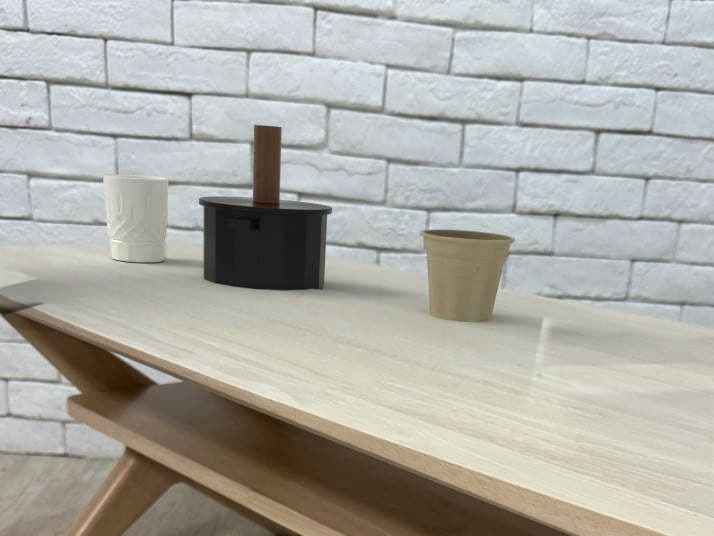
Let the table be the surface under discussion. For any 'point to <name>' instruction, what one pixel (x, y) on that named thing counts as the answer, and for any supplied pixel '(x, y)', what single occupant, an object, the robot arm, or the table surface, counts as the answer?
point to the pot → (264, 249)
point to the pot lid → (266, 182)
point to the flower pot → (464, 272)
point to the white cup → (136, 216)
